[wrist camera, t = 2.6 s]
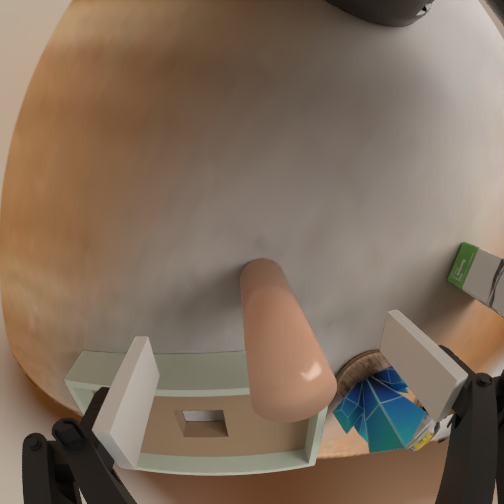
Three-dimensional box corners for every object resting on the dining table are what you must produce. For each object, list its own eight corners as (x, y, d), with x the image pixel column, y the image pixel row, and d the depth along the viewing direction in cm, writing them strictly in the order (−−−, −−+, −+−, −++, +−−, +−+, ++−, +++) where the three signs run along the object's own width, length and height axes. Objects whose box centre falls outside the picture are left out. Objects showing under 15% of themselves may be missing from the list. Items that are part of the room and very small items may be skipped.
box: (82, 350, 23) (63, 379, 19) (317, 342, 25) (333, 376, 20) (128, 439, 28) (121, 466, 23) (306, 436, 29) (314, 465, 24)
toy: (484, 389, 28) (426, 457, 28) (466, 375, 33) (411, 440, 34) (469, 372, 25) (396, 454, 26) (446, 355, 30) (380, 432, 31)
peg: (238, 260, 22) (247, 370, 9) (283, 256, 22) (342, 357, 10) (241, 301, 23) (253, 426, 10) (283, 297, 23) (331, 415, 11)
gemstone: (316, 381, 26) (351, 472, 15) (384, 334, 25) (447, 410, 14) (343, 409, 28) (376, 485, 17) (402, 369, 27) (452, 436, 16)
